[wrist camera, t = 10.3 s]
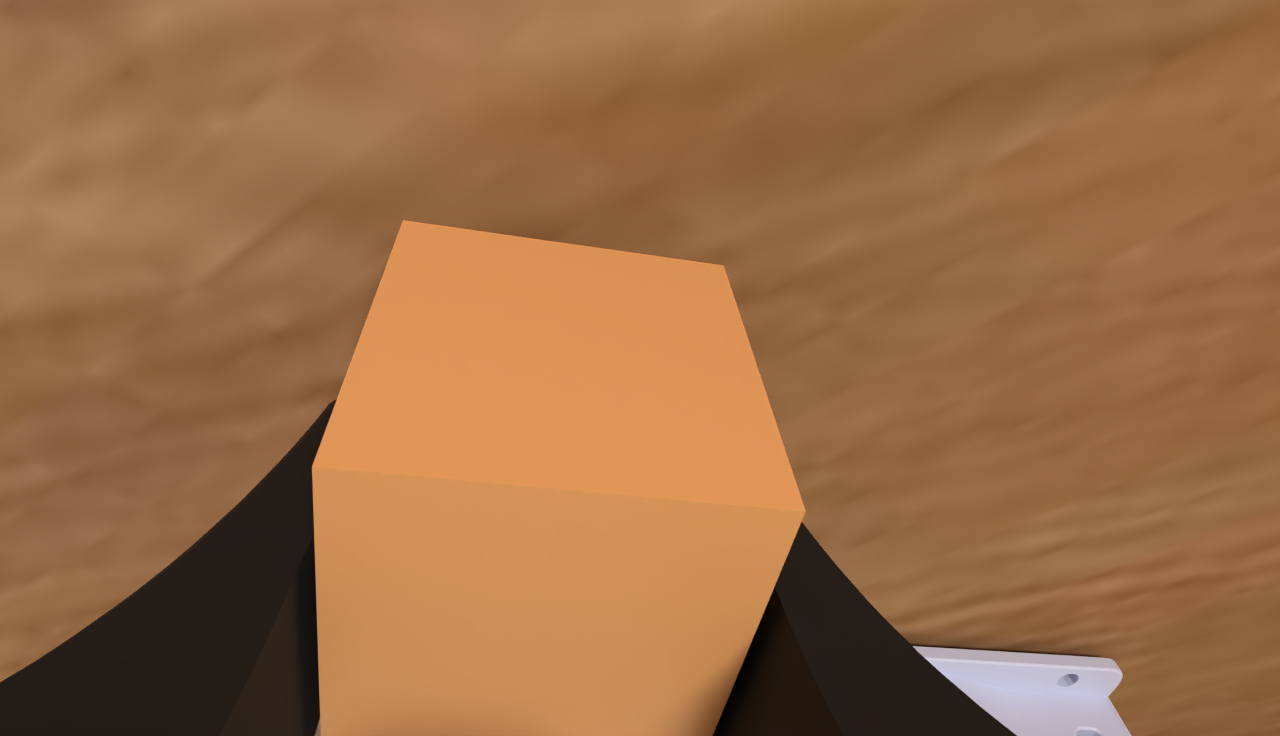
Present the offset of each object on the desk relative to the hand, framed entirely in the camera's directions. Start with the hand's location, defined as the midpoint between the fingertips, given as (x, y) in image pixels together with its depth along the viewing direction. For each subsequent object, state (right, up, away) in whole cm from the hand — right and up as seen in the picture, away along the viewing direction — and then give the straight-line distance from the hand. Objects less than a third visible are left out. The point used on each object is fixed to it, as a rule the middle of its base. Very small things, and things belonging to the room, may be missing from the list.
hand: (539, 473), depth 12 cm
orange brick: (0, +1, +1) cm, 1 cm away
